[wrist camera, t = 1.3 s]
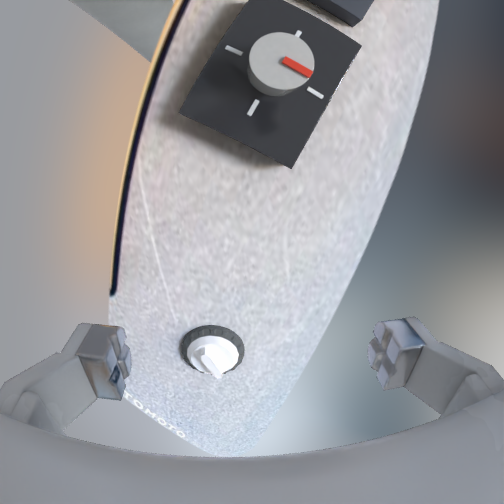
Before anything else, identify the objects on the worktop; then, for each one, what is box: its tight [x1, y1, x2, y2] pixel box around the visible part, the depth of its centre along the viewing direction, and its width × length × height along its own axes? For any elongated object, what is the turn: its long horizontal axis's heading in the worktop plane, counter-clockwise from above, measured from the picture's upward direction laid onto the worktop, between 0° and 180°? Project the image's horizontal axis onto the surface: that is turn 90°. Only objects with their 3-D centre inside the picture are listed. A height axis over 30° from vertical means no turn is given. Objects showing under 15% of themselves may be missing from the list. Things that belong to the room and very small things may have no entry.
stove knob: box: [182, 325, 244, 379], centre depth 31 cm, size 7×7×3 cm
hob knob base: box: [179, 0, 361, 169], centre depth 21 cm, size 10×13×3 cm
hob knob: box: [247, 32, 314, 96], centre depth 18 cm, size 4×4×4 cm
